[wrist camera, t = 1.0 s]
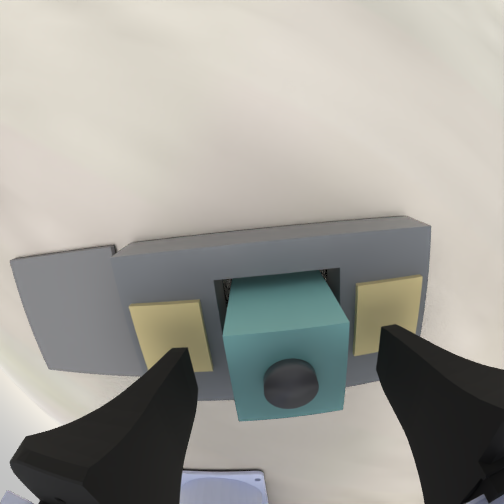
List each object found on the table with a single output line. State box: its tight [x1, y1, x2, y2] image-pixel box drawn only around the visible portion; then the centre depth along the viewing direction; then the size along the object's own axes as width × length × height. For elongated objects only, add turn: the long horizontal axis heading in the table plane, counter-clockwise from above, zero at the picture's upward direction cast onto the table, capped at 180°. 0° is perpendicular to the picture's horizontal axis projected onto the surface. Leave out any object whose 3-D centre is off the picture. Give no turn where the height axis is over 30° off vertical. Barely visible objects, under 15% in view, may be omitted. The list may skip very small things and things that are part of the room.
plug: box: [223, 270, 350, 421], centre depth 12 cm, size 4×4×7 cm
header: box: [110, 216, 431, 401], centre depth 14 cm, size 8×14×3 cm, turn 96°
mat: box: [10, 245, 144, 376], centre depth 16 cm, size 8×8×1 cm
